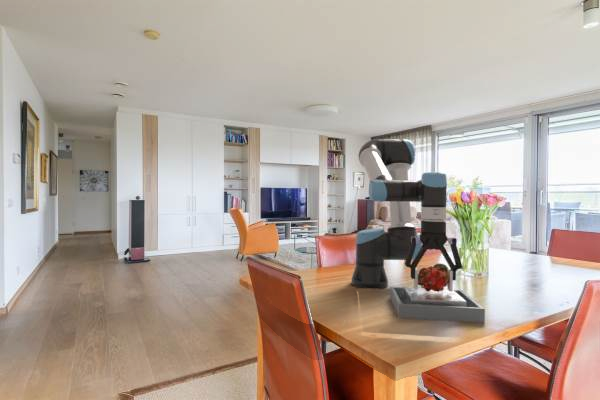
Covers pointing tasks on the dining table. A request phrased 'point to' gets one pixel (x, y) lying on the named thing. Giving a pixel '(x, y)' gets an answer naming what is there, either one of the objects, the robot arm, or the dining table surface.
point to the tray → (438, 309)
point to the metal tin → (432, 297)
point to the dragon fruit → (432, 279)
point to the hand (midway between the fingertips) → (432, 289)
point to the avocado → (442, 268)
